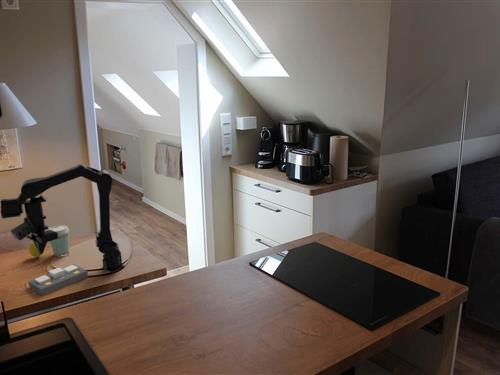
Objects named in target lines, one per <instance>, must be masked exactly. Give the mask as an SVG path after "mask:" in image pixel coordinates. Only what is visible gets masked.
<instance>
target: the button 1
mask: <svg viewBox="0 0 500 375" xmlns="http://www.w3.org/2000/svg"><path fill="white" fill-rule="evenodd" d="M38 277H39V278H38ZM38 277H35V278H36V279H35V278H34V279H35V282H36V283H37V284H39V285H40V284H43V283H46V282H48V281H51V278H49V277H48V276H46V274H44V276H43V275H41V276H38Z"/></svg>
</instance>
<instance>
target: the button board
mask: <svg viewBox="0 0 500 375" xmlns="http://www.w3.org/2000/svg"><path fill="white" fill-rule="evenodd" d="M71 265H74V266H76V267H78V270H77V271H74V272H71V273H69V274H68V273H66V272H65V275H64V276H61V277H59V278H56V279H54V278H52V277H50V276H49V273H46V274H44V275H46V276H48V277H49V278H51V281H48V282H46V283H43V284H40V285H39V284H37V283H36V282H35V279H36V278H39V277H40V276H38V277H35V278H32V279H31V280H28V287H29V289H31V290H33V291H34V292H36V293H37V294H39V295H40V296H44V295H47V294H49V293H52V292H54V291H57V290H59V289H62V288H65V287H66V286H70V285H72V284H74V283H76V282H79V281H81V280H84V279H86V278H88V277H89V272H88V270H86V269H85V268H83V267H81V266H79V265H77V264H75V263H72V264H71ZM71 265H67V266H64V267H62V268H61V269H63V268H66V267H68V266H71ZM44 275H42V276H44Z"/></svg>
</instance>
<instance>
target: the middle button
mask: <svg viewBox="0 0 500 375" xmlns="http://www.w3.org/2000/svg"><path fill="white" fill-rule="evenodd" d="M48 274H49V276H50V277H52V278H54V279H56V278H59V277H61V276H64V275H65V272H64V270H63V269H62V268H61V267H57V268H54V269H51V270H48Z"/></svg>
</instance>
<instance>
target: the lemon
mask: <svg viewBox="0 0 500 375" xmlns="http://www.w3.org/2000/svg"><path fill="white" fill-rule="evenodd" d="M28 250H29V254H30V255H31V256H32V257H36V258H40V257H41V256H42V255H43V254H39V252H38V250H37V248H36V246H35V245H34V243H33V241H31V243H30V244H29V247H28Z"/></svg>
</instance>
